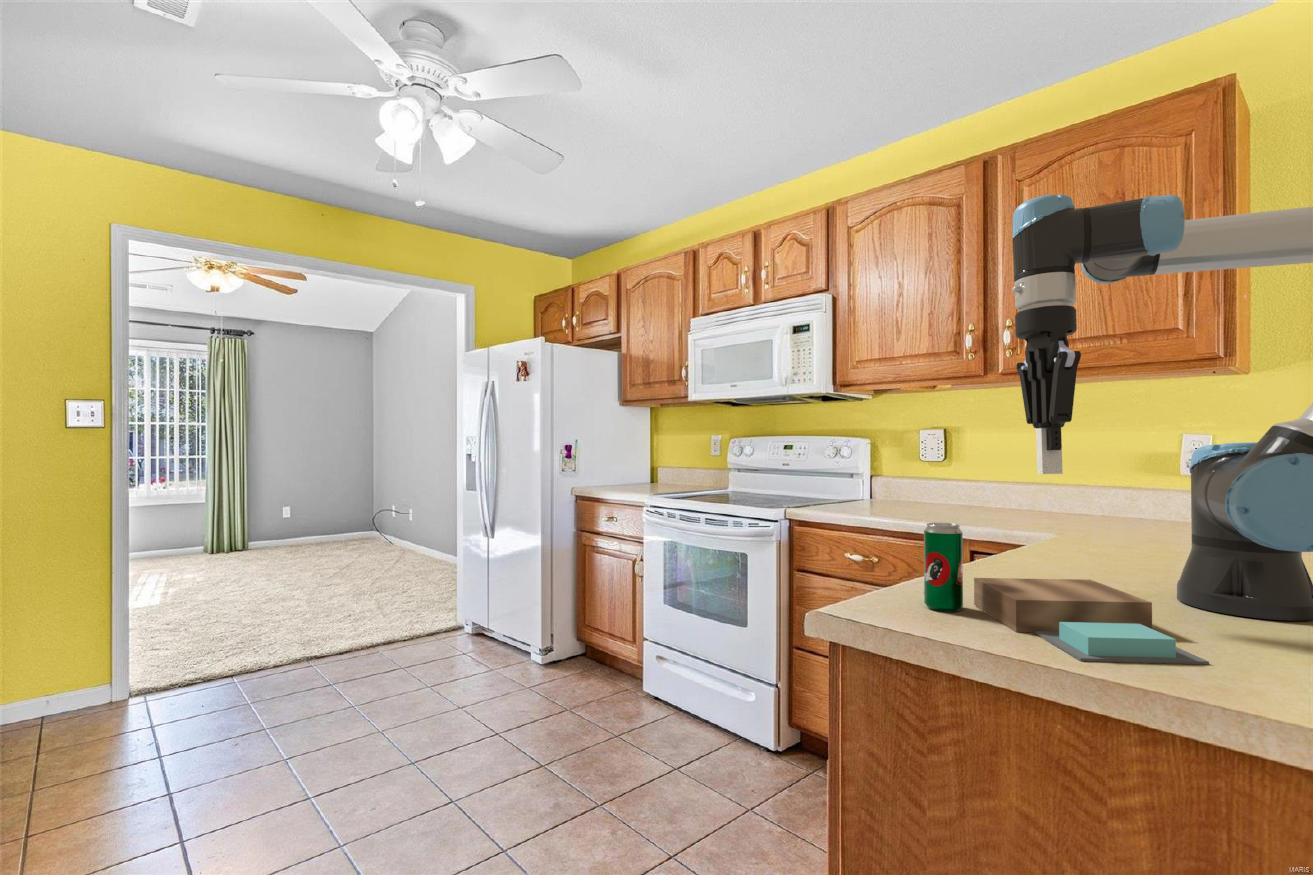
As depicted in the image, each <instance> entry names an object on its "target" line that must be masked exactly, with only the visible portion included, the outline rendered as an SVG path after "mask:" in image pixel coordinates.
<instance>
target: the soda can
mask: <svg viewBox="0 0 1313 875" xmlns="http://www.w3.org/2000/svg"><path fill="white" fill-rule="evenodd" d="M960 527H961V526H960V524H957V523H951V522H927V523H926V528H925V529H924V530H923V585H924V586H923V590H924V592H923V596H924V597H923V598H924V599H923V600H924V601H923V602H924V604H925V606H926V607H927V608H928V609H930V610H932V611H936V612H941V613H942V612H944V613H955V612H956V613H957V612H959V611H961V610H962V608H963V607H964V584H963V583H964V561H963V559H964V558H963V557H964V556H963V555H964V554H963V553H964V550H963V549H964V546H963V545H964V544H963V543H964V541H963V539H964V537H963V535H964V534H963V531H962V529H961V528H960Z"/></svg>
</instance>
